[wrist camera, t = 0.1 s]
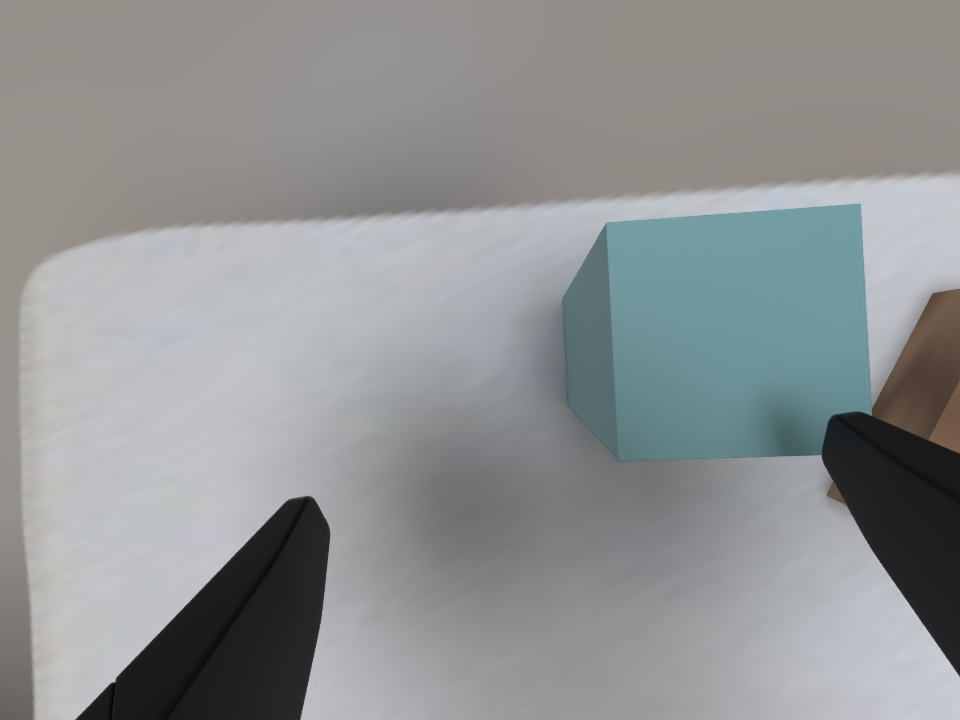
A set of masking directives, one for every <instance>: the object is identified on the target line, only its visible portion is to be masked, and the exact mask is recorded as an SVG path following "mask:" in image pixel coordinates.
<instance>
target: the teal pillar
mask: <svg viewBox="0 0 960 720" xmlns="http://www.w3.org/2000/svg"><path fill="white" fill-rule="evenodd" d="M563 318H564V337H565V357H566V377H567V397H568V406H569V407H570V408H571V409H572V411H573V412H574V413H575V414H576V415H577V416H578V417H579V418H580V419H581V420H582V422H583V423H584V424H585V425H586V426H587V427H588V428H589V429H590V430H591V431H592V433H593V434H594V435H595V436H596V437H597V438H598V439H599V440H600V441H601V442H602V444H603V445H604V446H605V447H606V448H607V449H608V450H609V451H610V452H611V453H612V455H613V456H614V457H615V458H616V459H617V460H618V461H641V460H674V459H707V458H740V457H773V456H807V455H822V446H823V442H824V437H825V433H826V428H827V424H828V421H829V419H830V417H831V416H832V415H835V414H840V413H846V412H853V411H860V412H863V413H866V414H869V415H871V416H872V405H871V387H870V368H869V350H868V331H867V313H866V295H865V276H864V258H863V239H862V221H861V204H851V205H838V206H824V207H811V208H797V209H784V210H770V211H757V212H743V213H730V214H717V215H703V216H690V217H676V218H663V219H649V220H636V221H623V222H609V223H606V224H605V226H604V228H603V229H602V231H601V233H600V235H599V236H598V238H597V240H596V242H595V243H594V245H593V247H592V249H591V250H590V252H589V254H588V256H587V257H586V259H585V261H584V263H583V264H582V266H581V268H580V270H579V271H578V273H577V275H576V276H575V278H574V280H573V282H572V283H571V285H570V287H569V289H568V290H567V292H566V294H565V296H564V297H563Z"/></svg>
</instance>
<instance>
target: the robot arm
mask: <svg viewBox="0 0 960 720" xmlns="http://www.w3.org/2000/svg"><path fill="white" fill-rule="evenodd" d="M822 460H823V462H824V465H825V467H826V469H827V471H828V472H829V474H830V476H831V478H832V480H833V481H834V483H835V485H836V487H837V489H838V491H839V492H840V494H841V496H842V498H843V500H844V501H845V503H846V505H847V507H848V509H849V510H850V512H851V514H852V516H853V518H854V520H855V521H856V523H857V525H858V527H859V529H860V530H861V532H862V534H863V536H864V537H865V539H866V541H867V543H868V544H869V546H870V548H871V549H872V551H873V552H874V554H875V555H876V557H877V558H878V560H879V561H880V563H881V564H882V566H883V567H884V568H885V570H886V571H887V573H888V574H889V576H890V577H891V578H892V580H893V581H894V583H895V584H896V586H897V587H898V589H899V590H900V591H901V593H902V594H903V596H904V597H905V599H906V600H907V601H908V603H909V604H910V606H911V607H912V609H913V610H914V612H915V613H916V614H917V616H918V617H919V619H920V620H921V622H922V623H923V624H924V626H925V627H926V629H927V630H928V632H929V633H930V635H931V636H932V637H933V639H934V640H935V642H936V643H937V645H938V646H939V647H940V649H941V650H942V652H943V653H944V655H945V656H946V658H947V659H948V660H949V662H950V663H951V665H952V666H953V668H954V669H955V670H956V672H957V673H958V675H959V676H960V453H958V452H955V451H953V450H951V449H948V448H946V447H943V446H941V445H939V444H936V443H934V442H932V441H929V440H927V439H925V438H922V437H920V436H918V435H915V434H913V433H911V432H908V431H906V430H904V429H901V428H899V427H897V426H894V425H892V424H890V423H887V422H885V421H883V420H880V419H878V418H876V417H873V416H871V415H869V414H866V413H863V412H860V411H853V412H846V413H840V414H835V415H832V416H831V417H830V419H829V421H828V424H827V428H826V433H825V437H824V442H823V446H822ZM329 543H330V529H329V525H328V523H327V521H326V519H325V517H324V515H323V514H322V512H321V510H320V508H319V506H318V504H317V503H316V501H315V499H314V498H312V497H311V496H304V497H298V498H292V499H289V500H288V501H286V502H285V503H284V504H283V505H282V506H281V507H280V508H279V509H278V510H277V511H276V513H275V514H274V515H273V516H272V517H271V518H270V519H269V520H268V521H267V522H266V523H265V524H264V525H263V526H262V527H261V528H260V529H259V530H258V531H257V532H256V533H255V534H254V535H253V536H252V537H251V538H250V540H249V541H248V542H247V543H246V544H245V545H244V546H243V547H242V548H241V549H240V550H239V551H238V552H237V553H236V554H235V555H234V556H233V557H232V558H231V559H230V560H229V561H228V562H227V563H226V564H225V565H224V566H223V568H222V569H221V570H220V571H219V572H218V573H217V574H216V575H215V576H214V577H213V578H212V579H211V580H210V581H209V582H208V583H207V584H206V585H205V586H204V587H203V588H202V589H201V590H200V591H199V592H198V593H197V595H196V596H195V597H194V598H193V599H192V600H191V601H190V602H189V603H188V604H187V605H186V606H185V607H184V608H183V609H182V610H181V611H180V612H179V613H178V614H177V615H176V616H175V617H174V618H173V619H172V620H171V621H170V623H169V624H168V625H167V626H166V627H165V628H164V629H163V630H162V631H161V632H160V633H159V634H158V635H157V636H156V637H155V638H154V639H153V640H152V641H151V642H150V643H149V644H148V645H147V646H146V647H145V648H144V650H143V651H142V652H141V653H140V654H139V655H138V656H137V657H136V658H135V659H134V660H133V661H132V662H131V663H130V664H129V665H128V666H127V667H126V668H125V669H124V670H123V671H122V672H121V673H120V674H119V675H118V676H117V678H116V681H115V682H113V683H111V684H110V685H109V686H108V687H107V688H106V689H105V690H104V691H103V692H102V693H101V694H100V695H99V696H98V697H97V698H96V699H95V700H94V701H93V702H92V703H91V704H90V705H89V706H88V707H87V708H86V709H85V710H84V711H83V712H82V713H81V714H80V715H79V716H78V718H77V719H76V720H300V719H301V714H302V709H303V705H304V700H305V695H306V691H307V686H308V681H309V676H310V672H311V667H312V662H313V657H314V653H315V648H316V643H317V639H318V634H319V629H320V623H321V617H322V610H323V601H324V591H325V582H326V572H327V563H328V553H329Z"/></svg>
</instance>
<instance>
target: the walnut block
mask: <svg viewBox="0 0 960 720" xmlns="http://www.w3.org/2000/svg"><path fill="white" fill-rule="evenodd" d="M872 416H873V417H876V418H878V419H880V420H883V421H885V422H887V423H890V424H892V425H894V426H897V427H899V428H901V429H904V430H906V431H908V432H911V433H913V434H915V435H918V436H920V437H922V438H925V439H927V440H929V441H932V442H934V443H936V444H939V445H941V446H943V447H946V448H948V449H951V450H953V451H955V452H958V453H960V289H956V290H950V291H944V292H939V293H933V294H932V296H931V298H930V300H929V302H928V304H927V305H926V307H925V309H924V311H923V313H922V315H921V317H920V319H919V321H918V323H917V325H916V326H915V328H914V330H913V332H912V334H911V336H910V338H909V340H908V342H907V344H906V345H905V347H904V349H903V351H902V353H901V355H900V357H899V359H898V361H897V363H896V365H895V366H894V368H893V370H892V372H891V374H890V376H889V378H888V380H887V382H886V384H885V385H884V387H883V389H882V391H881V393H880V395H879V397H878V399H877V401H876V403H875V405H874V406H873V408H872ZM827 496H829V497H831V498H833V499H835V500H837V501H839V502H841V503H843V504H845V505H846V503H845V501H844V500H843V498H842V496H841V494H840V492H839V491H838V489H837V487H836V485H835V483H833V485H832V486H831V488H830V490H829V492H828V494H827Z"/></svg>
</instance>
